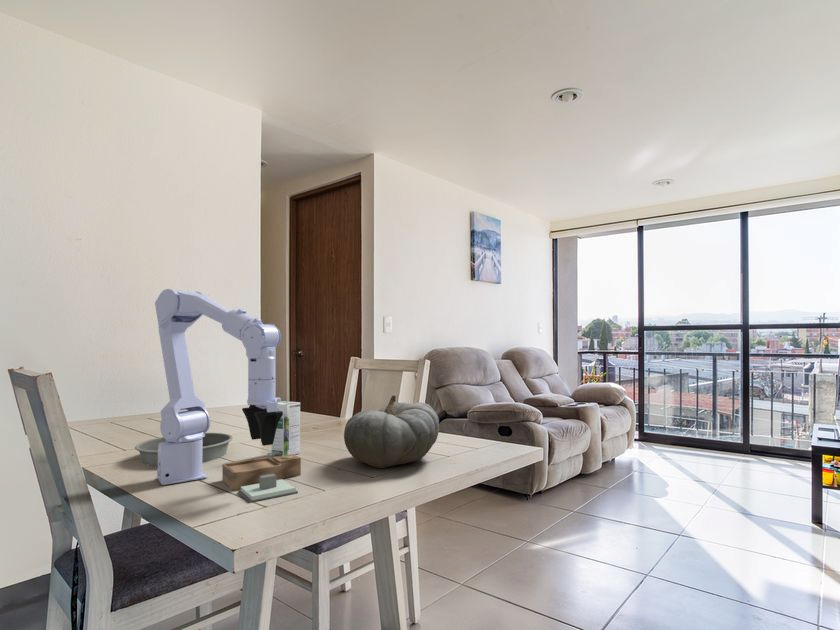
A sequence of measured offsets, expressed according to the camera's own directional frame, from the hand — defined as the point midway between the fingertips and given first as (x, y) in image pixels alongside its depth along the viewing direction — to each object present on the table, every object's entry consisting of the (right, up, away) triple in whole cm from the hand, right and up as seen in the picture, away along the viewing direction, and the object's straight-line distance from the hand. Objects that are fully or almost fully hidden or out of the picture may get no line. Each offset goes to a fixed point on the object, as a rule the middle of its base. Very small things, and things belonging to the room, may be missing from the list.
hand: (261, 441), depth 108 cm
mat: (+2, -10, -4) cm, 11 cm away
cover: (+2, -9, -4) cm, 10 cm away
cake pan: (-31, -12, +30) cm, 45 cm away
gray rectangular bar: (-2, -11, +18) cm, 21 cm away
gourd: (+27, -11, +21) cm, 36 cm away
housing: (-2, -10, +7) cm, 12 cm away
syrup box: (-3, -12, +30) cm, 32 cm away
